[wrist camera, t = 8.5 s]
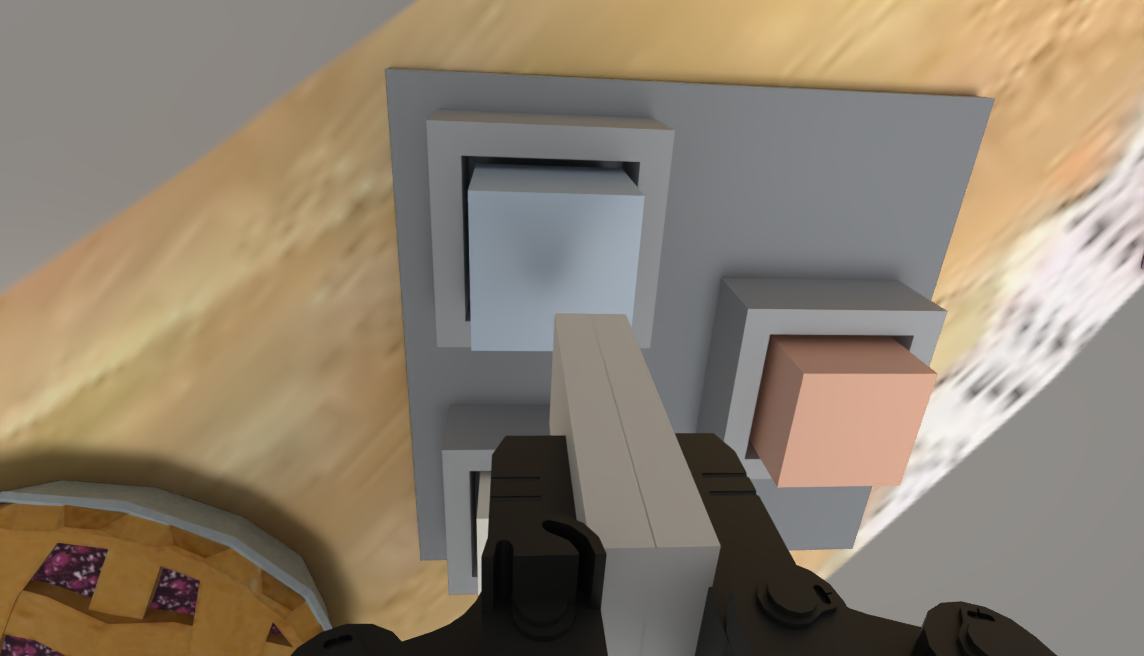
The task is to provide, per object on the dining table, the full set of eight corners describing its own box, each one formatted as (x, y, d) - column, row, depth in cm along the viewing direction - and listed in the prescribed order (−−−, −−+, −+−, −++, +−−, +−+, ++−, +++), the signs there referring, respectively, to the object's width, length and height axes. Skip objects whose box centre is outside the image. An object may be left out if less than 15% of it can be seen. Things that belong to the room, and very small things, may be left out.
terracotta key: (741, 426, 26) (777, 487, 23) (761, 324, 24) (804, 373, 21) (847, 425, 27) (899, 485, 23) (876, 325, 25) (937, 373, 21)
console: (423, 545, 31) (410, 616, 27) (390, 68, 22) (364, 74, 18) (843, 534, 33) (885, 599, 29) (976, 96, 24) (1064, 107, 20)
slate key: (478, 299, 22) (471, 350, 19) (476, 163, 20) (467, 190, 16) (611, 301, 23) (629, 351, 19) (621, 168, 21) (644, 195, 17)
